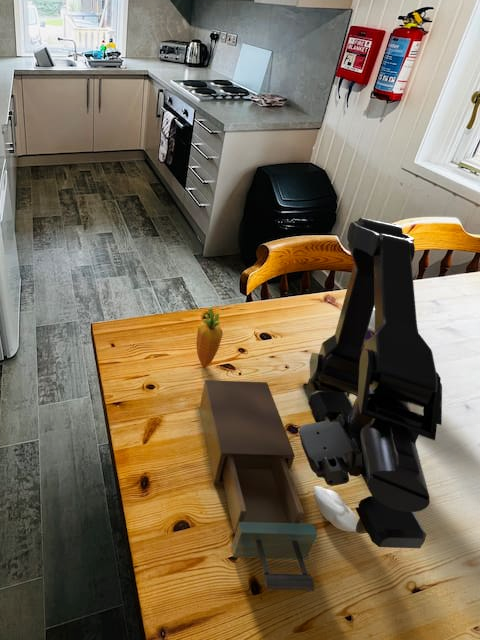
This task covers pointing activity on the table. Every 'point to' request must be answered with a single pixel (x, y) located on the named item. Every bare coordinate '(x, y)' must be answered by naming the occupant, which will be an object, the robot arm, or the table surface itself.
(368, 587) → the table surface
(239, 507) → the drawer
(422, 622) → the table surface
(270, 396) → the cabinet
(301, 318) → the table surface
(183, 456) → the table surface
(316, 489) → the dumpling
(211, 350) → the carrot
